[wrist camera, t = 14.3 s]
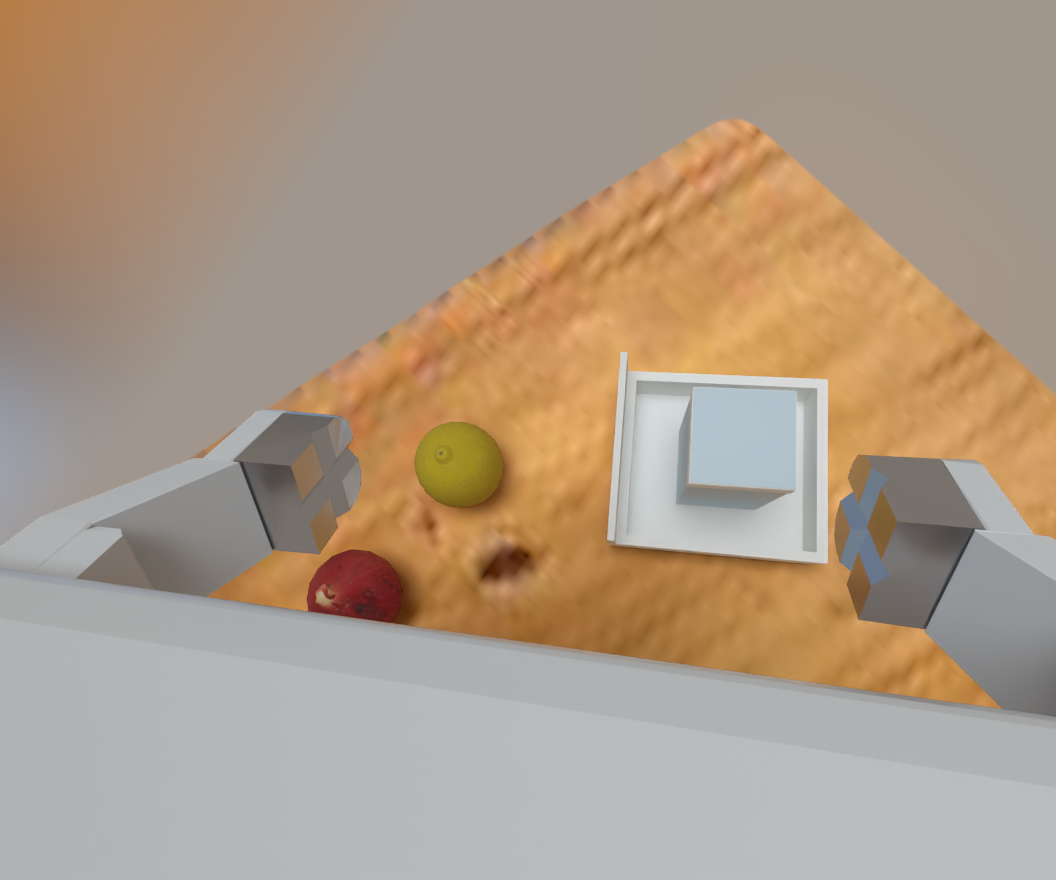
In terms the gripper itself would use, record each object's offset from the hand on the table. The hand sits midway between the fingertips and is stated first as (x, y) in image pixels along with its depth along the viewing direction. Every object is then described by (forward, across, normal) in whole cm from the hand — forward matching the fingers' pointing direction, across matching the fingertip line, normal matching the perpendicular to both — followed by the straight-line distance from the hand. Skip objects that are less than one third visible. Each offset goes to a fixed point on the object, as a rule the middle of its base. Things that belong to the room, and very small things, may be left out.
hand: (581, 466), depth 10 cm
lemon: (+25, +11, +20) cm, 34 cm away
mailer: (+26, -6, +19) cm, 33 cm away
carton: (+26, -6, +18) cm, 32 cm away
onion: (+19, +16, +26) cm, 36 cm away
